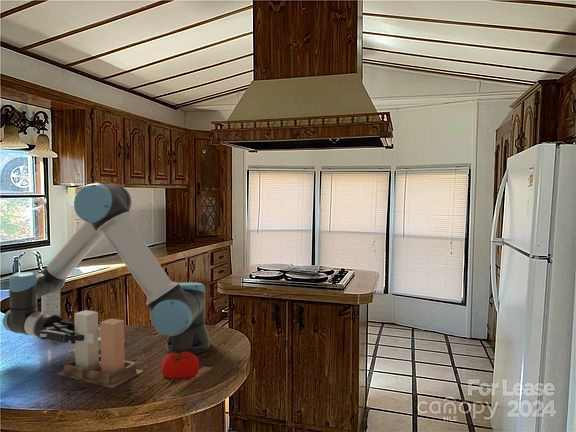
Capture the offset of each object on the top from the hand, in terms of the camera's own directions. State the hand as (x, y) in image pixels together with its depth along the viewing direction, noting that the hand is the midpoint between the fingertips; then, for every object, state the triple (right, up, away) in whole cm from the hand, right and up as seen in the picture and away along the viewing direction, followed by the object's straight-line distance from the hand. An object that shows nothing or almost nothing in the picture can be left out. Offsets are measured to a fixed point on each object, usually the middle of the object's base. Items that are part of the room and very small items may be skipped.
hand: (100, 336), depth 123 cm
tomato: (+23, -13, +2) cm, 27 cm away
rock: (-12, -12, +21) cm, 27 cm away
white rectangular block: (-5, -9, +3) cm, 11 cm away
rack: (0, -12, +1) cm, 12 cm away
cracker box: (-40, -10, +45) cm, 61 cm away
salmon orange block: (+4, -11, -1) cm, 12 cm away
